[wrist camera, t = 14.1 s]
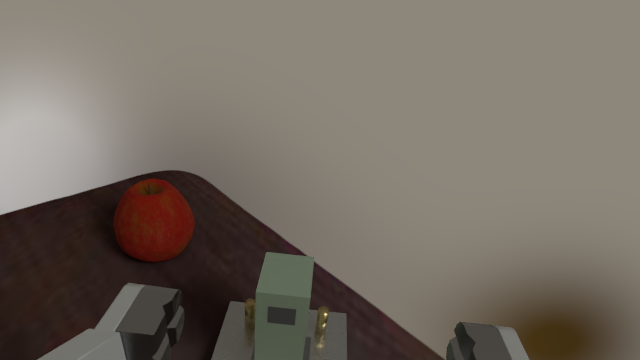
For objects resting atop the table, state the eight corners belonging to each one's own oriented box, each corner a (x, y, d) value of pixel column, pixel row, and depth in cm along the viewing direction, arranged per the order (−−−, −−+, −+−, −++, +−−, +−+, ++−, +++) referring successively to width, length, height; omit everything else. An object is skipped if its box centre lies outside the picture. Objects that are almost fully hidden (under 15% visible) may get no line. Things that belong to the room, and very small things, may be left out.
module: (253, 380, 37) (255, 292, 31) (263, 336, 41) (266, 251, 35) (299, 385, 37) (310, 298, 31) (304, 340, 41) (314, 257, 35)
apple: (127, 226, 57) (116, 166, 52) (198, 222, 60) (193, 164, 55) (111, 274, 49) (95, 207, 44) (194, 267, 51) (189, 203, 46)
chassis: (190, 433, 34) (186, 401, 31) (230, 309, 46) (230, 279, 43) (346, 449, 34) (354, 419, 31) (344, 322, 46) (350, 292, 43)
